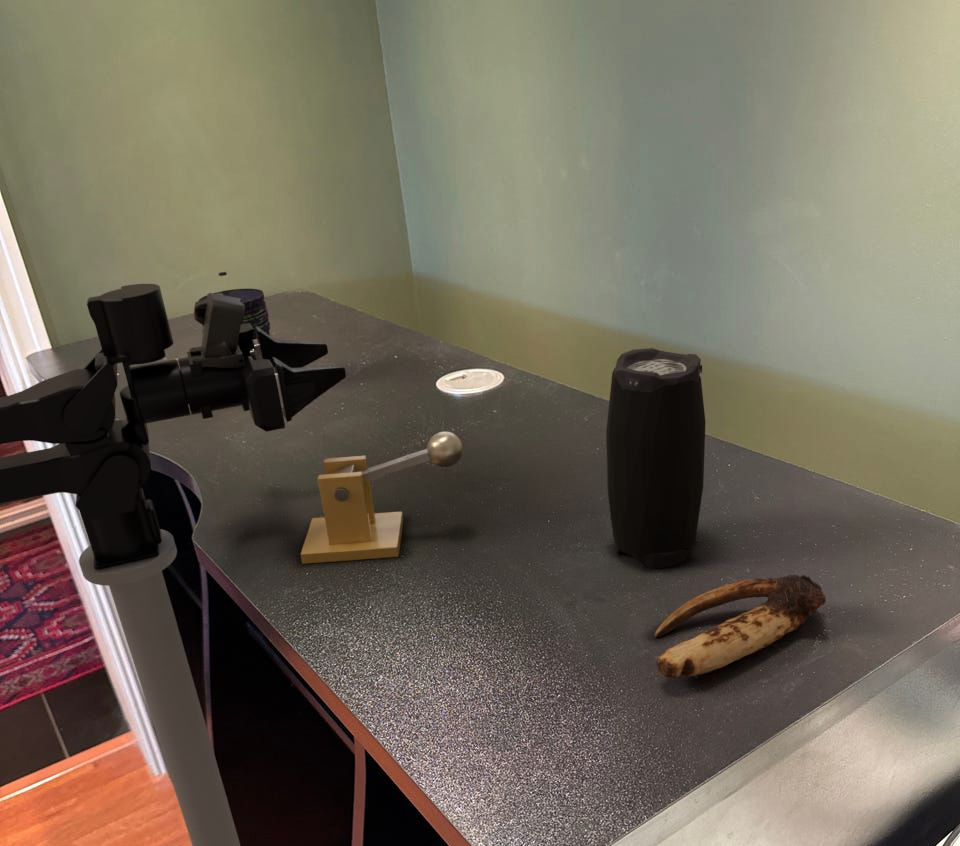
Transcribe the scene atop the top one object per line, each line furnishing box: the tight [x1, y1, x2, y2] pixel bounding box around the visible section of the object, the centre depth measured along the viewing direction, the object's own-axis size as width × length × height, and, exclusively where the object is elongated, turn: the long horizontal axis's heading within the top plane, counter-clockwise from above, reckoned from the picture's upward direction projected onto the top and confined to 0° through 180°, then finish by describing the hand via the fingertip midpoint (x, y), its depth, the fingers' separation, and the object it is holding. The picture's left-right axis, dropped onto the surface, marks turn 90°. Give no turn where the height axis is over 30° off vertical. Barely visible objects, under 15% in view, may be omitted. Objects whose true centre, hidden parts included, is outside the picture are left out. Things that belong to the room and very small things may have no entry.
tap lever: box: [329, 431, 463, 483], centre depth 93 cm, size 14×4×4 cm, turn 90°
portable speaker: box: [605, 347, 706, 570], centre depth 86 cm, size 9×9×20 cm
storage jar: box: [197, 271, 271, 340], centre depth 139 cm, size 10×10×18 cm
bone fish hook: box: [654, 574, 827, 679], centre depth 76 cm, size 9×5×18 cm
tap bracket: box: [300, 455, 405, 565], centre depth 95 cm, size 10×8×9 cm
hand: (335, 359), depth 96 cm, fingers open, 9 cm apart
